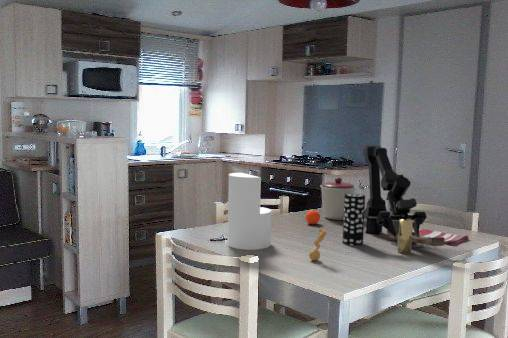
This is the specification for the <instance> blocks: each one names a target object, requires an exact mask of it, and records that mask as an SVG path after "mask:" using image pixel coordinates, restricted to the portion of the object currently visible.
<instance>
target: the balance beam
mask: <svg viewBox="0 0 508 338" xmlns="http://www.w3.org/2000/svg"><path fill="white" fill-rule="evenodd" d="M392 222H393V226H394V229H395V232H396V237H394V236H393V235H392V234H391V233H390V232H389V231H388V230H387V229H386V233H387V238H392V239H397V240H398V233H399V220H392ZM412 242H415V243H420V244H424V246H425V245H426V246H431V247H442V246H445V244H444V237H437V238H432V239H429V238H424V237H417V236H413V235H412Z"/></svg>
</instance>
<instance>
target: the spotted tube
mask: <svg viewBox="0 0 508 338" xmlns="http://www.w3.org/2000/svg"><path fill="white" fill-rule="evenodd" d="M365 209H366V195H365V194H361V193H354V194H345V195H344V220H343V221H342V222H343V225H342V244H344V245H346V246H350V247H351V246H353V247H359V246H362V245H364V235H365V234H364V233H365V231H364V230H365V219H364V213H365Z"/></svg>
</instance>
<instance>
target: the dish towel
mask: <svg viewBox="0 0 508 338" xmlns="http://www.w3.org/2000/svg"><path fill="white" fill-rule="evenodd" d="M412 232H414V229H412ZM418 237H424V238H429V239H432V238H437V237H444V245H446V246H447V245H448V246H452V247H454V246H456V245H458V244H462V243H464V242H466V241H468V240H469V235H461V234H460V235H459V234H451V233H448V232H447V233H446V232H443V231H442V232H441V231H436V230H432V229H431V230H430V229H425V228H419V236H418Z"/></svg>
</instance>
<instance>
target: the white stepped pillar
mask: <svg viewBox="0 0 508 338" xmlns="http://www.w3.org/2000/svg"><path fill="white" fill-rule="evenodd" d="M261 181H262V177H261V176H256V175H252V174H250V173H246V172H245V173H244V172H230V173H228V196H227V197H228V198H227V201H228V202H227V208H228V209H227V245H228V246H229V247H230V248H233V249H239V250H251V251H253V250H263V249H267V248H269V247H271V242H272V240H271V239H272V238H271V237H272V210H271V209H270V208H267V207H263V206H262V207H261V191H262V190H261V186H262V184H261Z"/></svg>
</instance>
